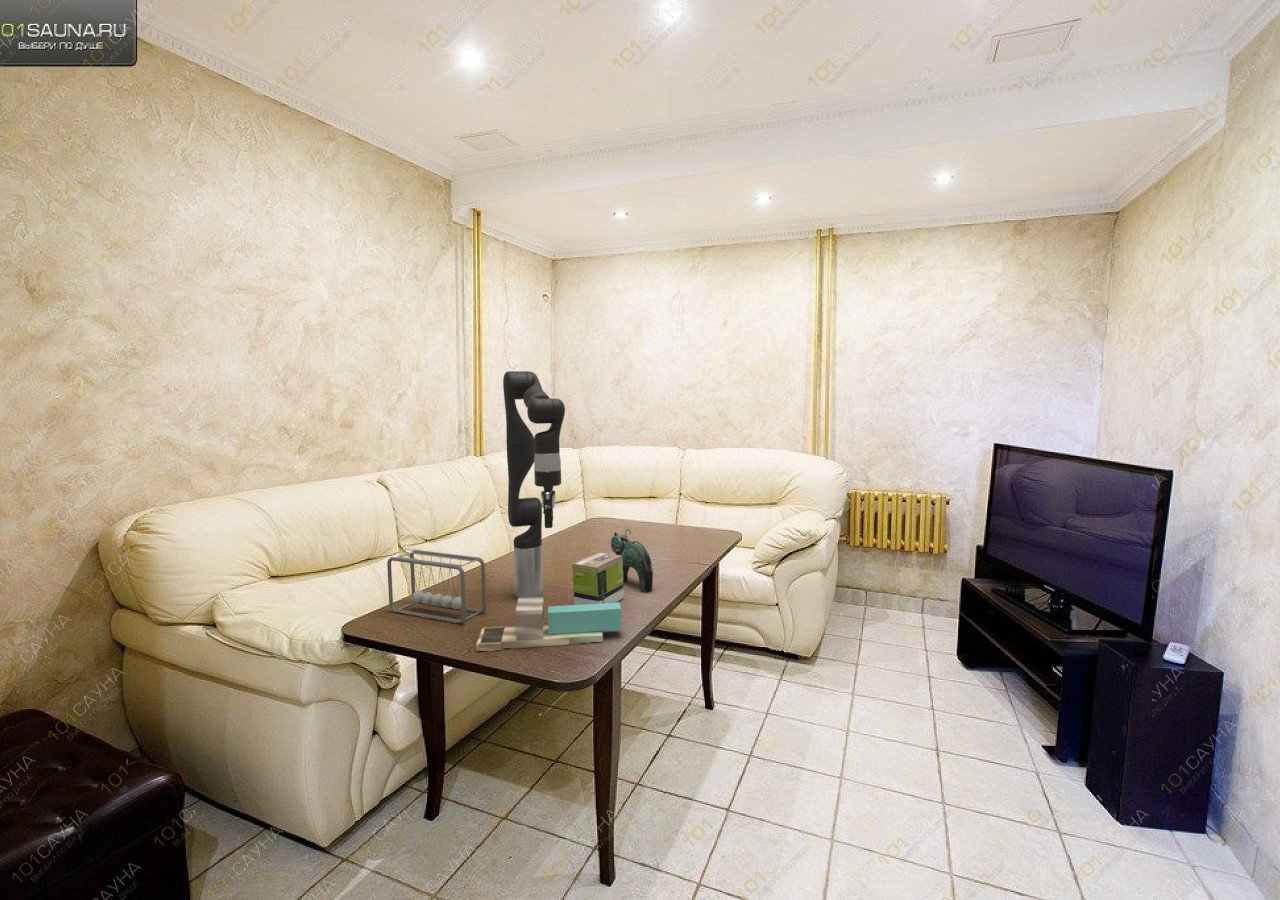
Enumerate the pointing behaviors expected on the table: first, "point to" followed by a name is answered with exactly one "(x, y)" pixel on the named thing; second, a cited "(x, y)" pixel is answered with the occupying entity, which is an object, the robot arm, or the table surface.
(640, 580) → the ceramic cat
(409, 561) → the newton's cradle
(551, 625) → the teal block
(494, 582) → the table surface
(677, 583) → the table surface
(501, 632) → the tunnel track
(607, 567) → the tea box
